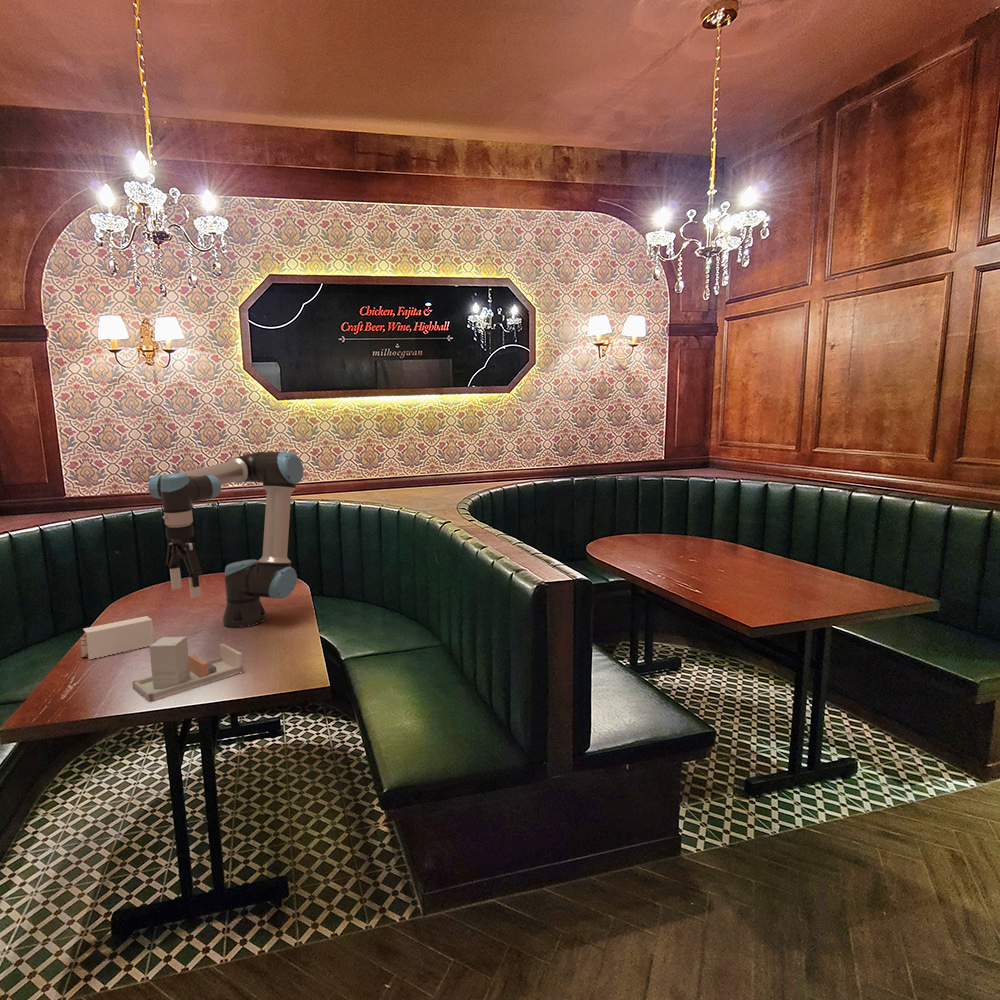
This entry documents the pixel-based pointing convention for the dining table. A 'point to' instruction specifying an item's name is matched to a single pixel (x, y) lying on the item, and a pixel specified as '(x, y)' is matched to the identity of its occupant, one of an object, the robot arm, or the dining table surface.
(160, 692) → the beige shallow tray
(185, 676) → the supplement box
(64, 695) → the dining table surface
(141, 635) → the cigarette display
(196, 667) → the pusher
